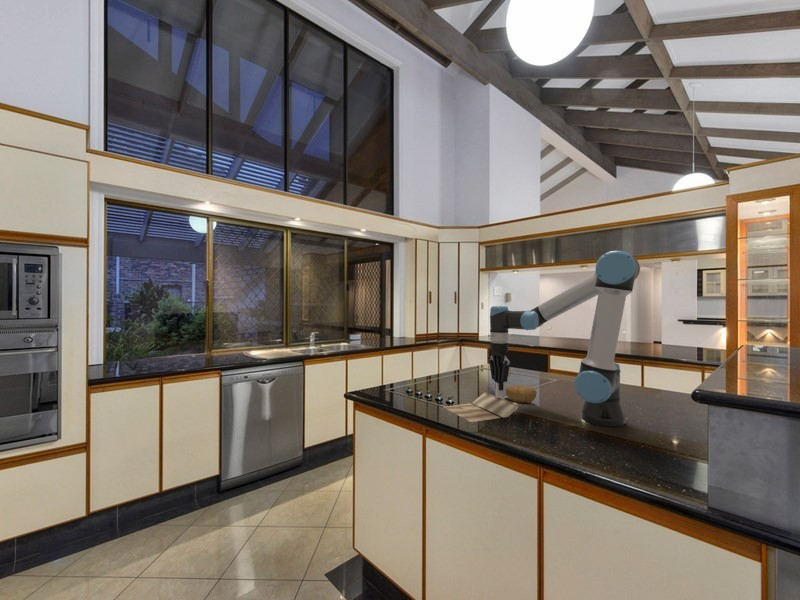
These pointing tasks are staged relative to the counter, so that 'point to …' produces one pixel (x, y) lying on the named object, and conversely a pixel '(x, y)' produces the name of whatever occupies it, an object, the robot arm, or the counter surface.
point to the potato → (521, 393)
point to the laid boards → (471, 412)
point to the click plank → (495, 405)
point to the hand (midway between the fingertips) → (499, 397)
